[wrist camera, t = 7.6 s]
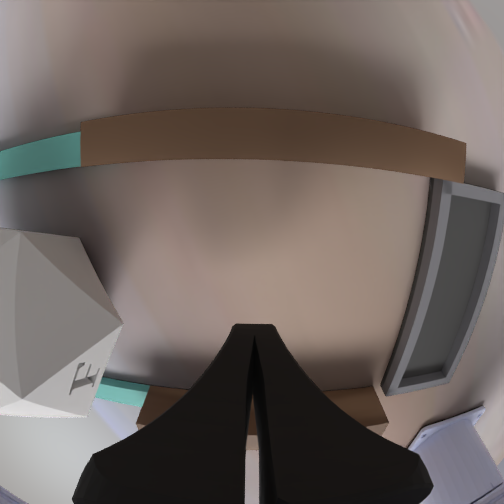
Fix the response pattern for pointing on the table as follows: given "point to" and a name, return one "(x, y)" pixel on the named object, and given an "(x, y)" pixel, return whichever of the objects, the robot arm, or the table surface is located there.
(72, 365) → the die
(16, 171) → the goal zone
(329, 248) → the table surface
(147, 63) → the table surface
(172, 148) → the channel
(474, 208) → the grey flat rectangular tray
